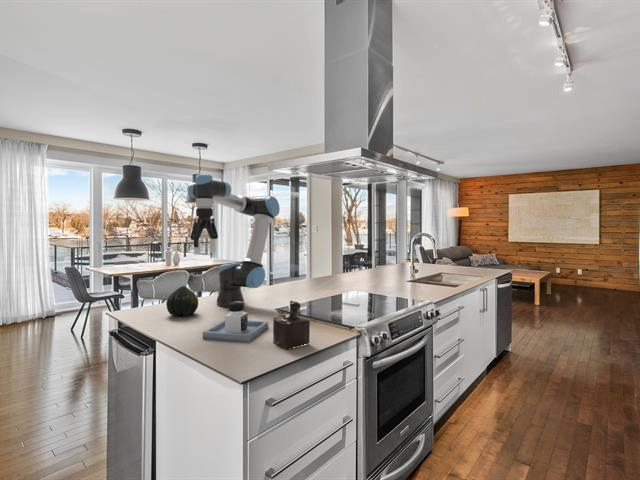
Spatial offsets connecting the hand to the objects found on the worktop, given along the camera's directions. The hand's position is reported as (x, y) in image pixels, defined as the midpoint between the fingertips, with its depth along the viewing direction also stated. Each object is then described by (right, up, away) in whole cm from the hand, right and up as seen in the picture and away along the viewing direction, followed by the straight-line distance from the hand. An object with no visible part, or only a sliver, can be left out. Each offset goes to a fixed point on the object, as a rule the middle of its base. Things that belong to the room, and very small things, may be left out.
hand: (205, 253), depth 171 cm
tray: (+19, -33, -18) cm, 42 cm away
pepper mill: (+44, -34, -34) cm, 65 cm away
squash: (-15, -32, +12) cm, 37 cm away
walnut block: (+37, -32, -9) cm, 50 cm away
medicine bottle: (+19, -32, -18) cm, 41 cm away
